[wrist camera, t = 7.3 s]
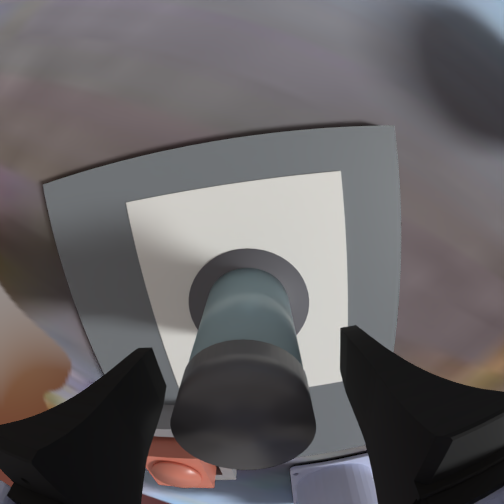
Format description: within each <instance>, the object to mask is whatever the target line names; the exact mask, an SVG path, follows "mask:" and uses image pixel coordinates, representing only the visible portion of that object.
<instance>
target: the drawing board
mask: <svg viewBox="0 0 504 504" xmlns="http://www.w3.org/2000/svg"><path fill="white" fill-rule="evenodd" d="M43 188H44V194H45V199H46V204H47V209H48V213H49V218H50V222H51V226H52V230H53V234H54V238H55V242H56V246H57V250H58V253H59V257H60V260H61V263H62V267H63V270H64V273H65V277H66V280H67V283H68V286H69V289H70V292H71V295H72V297H73V300H74V303H75V306H76V309H77V311H78V314H79V317H80V319H81V322H82V324H83V327H84V329H85V332H86V334H87V337H88V339H89V341H90V344H91V346H92V348H93V351H94V353H95V355H96V357H97V360H98V362H99V364H100V366H101V368H102V370H103V373H104V375H105V374H106V373H107V372H108V371H110V370H111V369H112V368H113V367H115V366H116V365H117V364H118V363H119V362H121V361H122V360H123V359H124V358H126V357H127V356H128V355H129V354H131V353H132V352H133V351H135V350H136V349H138V348H149V347H152V349H153V351H154V354H155V357H156V360H157V362H158V365H159V368H160V370H161V373H162V376H163V378H164V381H165V383H166V386H167V387H166V393H165V399H164V405H163V409H162V412H161V415H160V418H159V422H158V425H157V428H156V431H155V434H154V436H157V437H174V436H173V434H172V431H171V427H170V420H171V416H172V412H173V409H174V405H175V402H176V398H177V395H178V391H179V388H180V384H181V381H182V377H183V374H184V371H185V368H186V366H187V364H188V363H189V359H190V356H191V352H192V349H193V345H194V342H195V339H196V335H197V332H198V329H199V325H200V322H201V319H202V315H203V312H204V309H205V306H206V302H207V299H208V296H209V293H210V290H211V288H212V286H213V285H214V283H215V282H216V281H217V280H218V279H219V278H220V277H221V276H223V275H224V274H226V273H228V272H230V271H233V270H236V269H240V268H255V269H260V270H263V271H266V272H268V273H270V274H271V275H273V276H274V277H276V278H277V279H278V280H279V281H280V282H281V283H282V285H283V286H284V288H285V290H286V292H287V295H288V299H289V304H290V308H291V313H292V317H293V322H294V327H295V331H296V336H297V341H298V346H299V350H300V355H301V360H302V365H303V369H304V371H305V374H306V377H307V381H308V386H309V391H310V396H311V401H312V406H313V411H314V416H315V421H316V434H315V437H314V439H313V441H312V443H311V444H310V445H309V447H308V448H307V449H306V450H305V451H304V452H303V453H301V454H300V455H298V456H297V457H303V456H310V455H316V454H322V453H328V452H334V451H339V450H344V449H349V448H353V447H358V446H362V445H366V444H365V441H364V438H363V435H362V432H361V430H360V427H359V425H358V422H357V419H356V417H355V414H354V412H353V409H352V407H351V404H350V402H349V399H348V397H347V394H346V392H345V388H344V384H343V381H342V377H341V372H340V328H342V327H348V326H354V325H357V326H358V327H359V328H361V329H362V330H363V331H364V332H366V333H367V334H368V335H370V336H371V337H372V338H374V339H375V340H376V341H378V342H379V343H380V344H382V345H383V346H384V347H386V348H387V349H389V350H390V351H392V352H394V344H395V335H396V326H397V316H398V304H399V289H400V268H401V202H400V181H399V167H398V155H397V144H396V135H395V127H394V125H392V126H352V127H333V128H318V129H306V130H295V131H285V132H276V133H268V134H259V135H252V136H245V137H238V138H231V139H225V140H219V141H213V142H207V143H201V144H196V145H191V146H185V147H180V148H175V149H171V150H166V151H161V152H157V153H152V154H148V155H144V156H139V157H135V158H131V159H127V160H123V161H119V162H116V163H112V164H108V165H105V166H101V167H97V168H94V169H90V170H87V171H84V172H80V173H77V174H74V175H71V176H68V177H64V178H61V179H58V180H55V181H52V182H49V183H46V184H43ZM236 473H237V470H236V469H228V468H223V467H219V466H217V467H216V477H215V480H236Z"/></svg>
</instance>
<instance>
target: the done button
mask: <svg viewBox="0 0 504 504" xmlns="http://www.w3.org/2000/svg"><path fill="white" fill-rule="evenodd" d="M216 467H217V466H215V465H212V464H209V463H206V462H204V461H202V460H200V459H198V458H196V457H194V456H192V455H191V454H189V453H188V452H187V451H185V450H184V449H183V448H182V447H181V446H180V445H179V444H178V442H177V441H176V440H175V438H174V437H157V436H154V437H153V440H152V443H151V446H150V449H149V453H148V457H147V462H146V469H147V470H148V471H149V473H150V474H151V475H152V477H153V478H154V479H155V481H156V482H157V483H158V484H159V485H166V486H174V487H180V488H192V487H195V488H214V486H215V477H216Z"/></svg>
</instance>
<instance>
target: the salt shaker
mask: <svg viewBox="0 0 504 504" xmlns="http://www.w3.org/2000/svg"><path fill="white" fill-rule="evenodd" d="M170 427H171V431H172V434H173V436H174V438H175V440H176V441H177V442H178V444H179V445H180V446H181V447H182V448H183V449H184V450H185V451H187V452H188V453H189V454H191V455H192V456H194V457H196V458H198V459H200V460H202V461H204V462H206V463H209V464H212V465H215V466H219V467H223V468H228V469H236V470H255V469H264V468H269V467H273V466H277V465H280V464H283V463H285V462H288V461H290V460H292V459H294V458H295V457H297V456H298V455H300V454H301V453H303V452H304V451H305V450H306V449H307V448H308V447H309V445H310V444H311V443H312V441H313V439H314V437H315V434H316V421H315V416H314V411H313V406H312V401H311V396H310V391H309V386H308V381H307V377H306V374H305V371H304V369H303V365H302V360H301V355H300V350H299V346H298V341H297V336H296V331H295V327H294V322H293V317H292V313H291V308H290V304H289V299H288V295H287V292H286V290H285V288H284V286H283V285H282V283H281V282H280V281H279V280H278V279H277V278H276V277H274V276H273V275H271V274H270V273H268V272H266V271H263V270H260V269H255V268H240V269H236V270H233V271H230V272H228V273H226V274H224V275H223V276H221V277H220V278H219V279H218V280H217V281H216V282H215V283H214V285H213V286H212V288H211V290H210V293H209V296H208V299H207V302H206V306H205V309H204V312H203V315H202V319H201V322H200V325H199V329H198V332H197V335H196V339H195V342H194V345H193V349H192V352H191V356H190V359H189V363H188V364H187V366H186V368H185V371H184V374H183V377H182V381H181V384H180V388H179V391H178V395H177V398H176V402H175V405H174V409H173V412H172V416H171V420H170Z"/></svg>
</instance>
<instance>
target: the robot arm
mask: <svg viewBox="0 0 504 504" xmlns="http://www.w3.org/2000/svg"><path fill="white" fill-rule="evenodd" d="M340 372H341V377H342V381H343V384H344V388H345V392H346V394H347V397H348V399H349V402H350V404H351V407H352V409H353V412H354V414H355V417H356V419H357V422H358V425H359V427H360V430H361V432H362V435H363V438H364V441H365V444H366V448H367V452H368V453H365V454H360V455H356V456H351V457H347V458H342V459H337V460H331V461H326V462H320V463H314V464H307V465H300V466H293V467H291V468H290V476H291V484H292V493H293V502H294V504H504V392H501V391H493V390H486V389H480V388H475V387H471V386H466V385H463V384H459V383H456V382H453V381H450V380H447V379H444V378H441V377H439V376H436V375H434V374H431V373H429V372H427V371H425V370H423V369H421V368H419V367H417V366H415V365H413V364H411V363H409V362H408V361H406V360H404V359H403V358H401V357H399V356H398V355H396V354H395V353H393V352H392V351H390V350H389V349H387V348H386V347H384V346H383V345H382V344H380V343H379V342H378V341H376V340H375V339H374V338H372V337H371V336H370V335H368V334H367V333H366V332H364V331H363V330H362V329H361V328H359V327H358V326H357V325H354V326H348V327H342V328H340ZM166 387H167V386H166V383H165V381H164V378H163V376H162V373H161V370H160V368H159V365H158V362H157V360H156V357H155V354H154V351H153V349H152V347H149V348H138V349H136V350H135V351H133V352H132V353H131V354H129V355H128V356H127V357H126V358H124V359H123V360H122V361H121V362H119V363H118V364H117V365H116V366H115V367H113V368H112V369H111V370H110V371H108V372H107V373H106V374H105V375H104V376H102V377H101V378H100V379H98V380H97V381H96V382H94V383H93V384H92V385H90V386H89V387H88V388H86V389H85V390H83V391H82V392H80V393H79V394H77V395H76V396H74V397H72V398H70V399H69V400H67V401H65V402H63V403H62V404H59V405H57V406H55V407H53V408H51V409H49V410H47V411H45V412H42V413H40V414H37V415H35V416H32V417H29V418H26V419H23V420H19V421H16V422H11V423H7V424H2V425H0V469H1V470H2V471H3V472H4V473H5V474H6V475H7V476H8V477H9V478H10V479H11V480H12V481H13V482H14V483H13V485H12V487H10V486H9V485H7V484H6V483H4V482H3V481H1V480H0V504H141V497H142V488H143V480H144V473H145V467H146V462H147V457H148V453H149V449H150V446H151V443H152V440H153V437H154V434H155V431H156V428H157V425H158V422H159V418H160V415H161V412H162V409H163V405H164V399H165V393H166ZM373 479H374V480H373ZM374 483H375V484H374Z"/></svg>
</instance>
